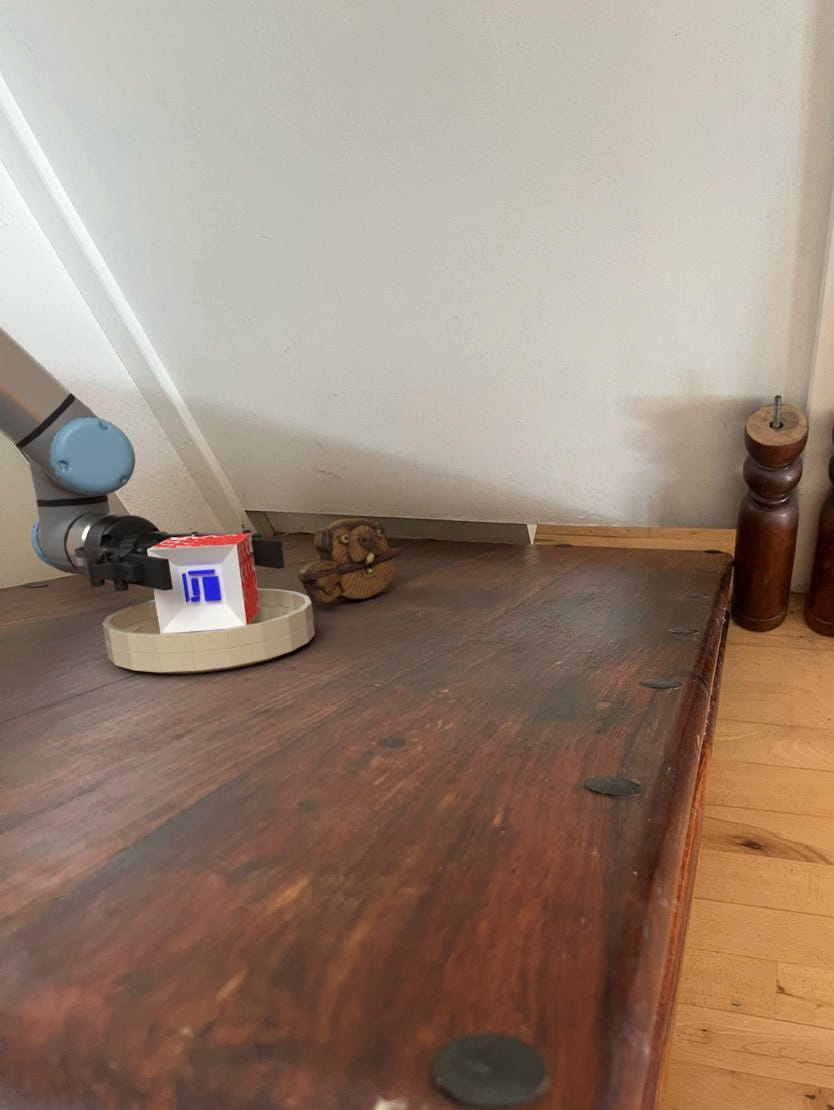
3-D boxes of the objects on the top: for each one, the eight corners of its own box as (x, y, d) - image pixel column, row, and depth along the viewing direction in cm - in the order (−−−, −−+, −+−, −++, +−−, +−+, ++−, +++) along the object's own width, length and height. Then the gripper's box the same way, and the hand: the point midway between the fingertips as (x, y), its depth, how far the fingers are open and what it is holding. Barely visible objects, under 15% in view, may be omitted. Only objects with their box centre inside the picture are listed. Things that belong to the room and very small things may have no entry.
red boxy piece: (260, 609, 80) (251, 533, 78) (247, 627, 73) (236, 544, 70) (180, 614, 79) (169, 537, 77) (159, 633, 72) (145, 549, 70)
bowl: (71, 682, 68) (62, 638, 67) (160, 627, 86) (154, 592, 85) (288, 674, 67) (283, 630, 66) (330, 620, 86) (327, 585, 85)
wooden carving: (328, 616, 88) (320, 528, 85) (298, 613, 90) (289, 527, 87) (411, 588, 101) (406, 511, 99) (383, 585, 104) (377, 511, 101)
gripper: (217, 564, 95) (330, 581, 81) (9, 601, 78) (107, 631, 64) (209, 503, 93) (323, 510, 79) (-7, 527, 76) (91, 541, 62)
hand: (226, 564), depth 72 cm, fingers closed on red boxy piece, 11 cm apart
